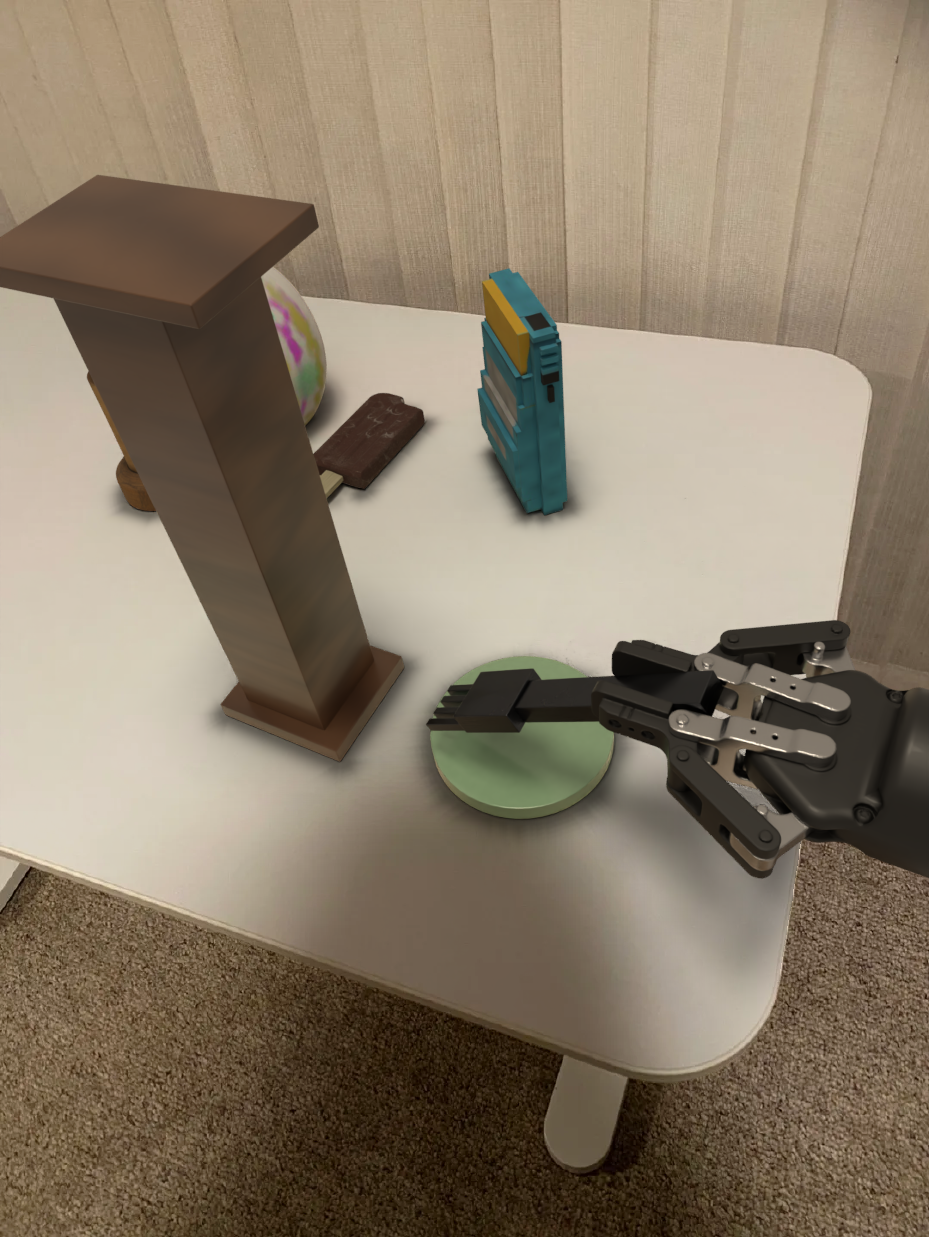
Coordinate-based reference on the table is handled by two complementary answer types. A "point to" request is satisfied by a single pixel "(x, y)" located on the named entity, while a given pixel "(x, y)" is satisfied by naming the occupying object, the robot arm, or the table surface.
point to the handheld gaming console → (523, 392)
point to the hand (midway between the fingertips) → (605, 678)
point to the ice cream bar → (367, 441)
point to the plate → (524, 756)
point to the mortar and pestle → (125, 466)
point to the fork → (559, 698)
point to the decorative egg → (298, 341)
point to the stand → (215, 431)
